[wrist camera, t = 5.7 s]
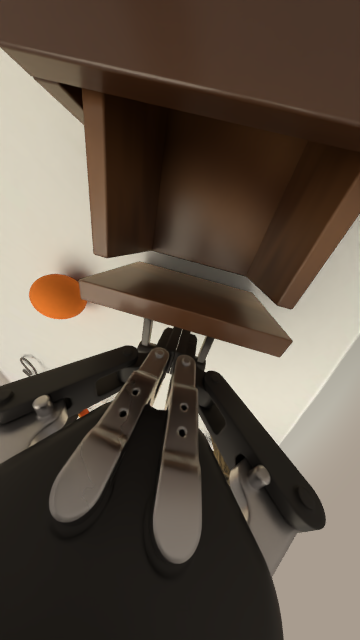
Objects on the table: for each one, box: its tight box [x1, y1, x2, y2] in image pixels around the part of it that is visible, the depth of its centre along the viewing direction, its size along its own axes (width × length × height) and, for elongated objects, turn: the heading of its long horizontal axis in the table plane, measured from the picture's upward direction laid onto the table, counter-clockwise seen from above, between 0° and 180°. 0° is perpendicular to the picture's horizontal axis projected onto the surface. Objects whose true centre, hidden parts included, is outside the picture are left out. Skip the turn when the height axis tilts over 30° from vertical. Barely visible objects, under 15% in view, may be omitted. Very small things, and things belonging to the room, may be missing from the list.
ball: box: [29, 274, 87, 319], centre depth 16 cm, size 5×5×5 cm
